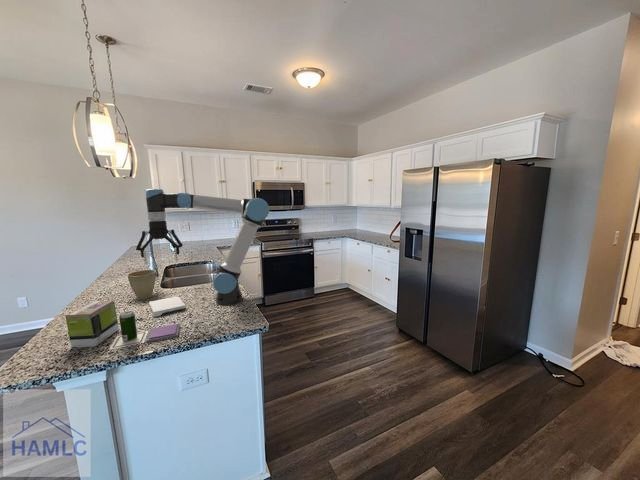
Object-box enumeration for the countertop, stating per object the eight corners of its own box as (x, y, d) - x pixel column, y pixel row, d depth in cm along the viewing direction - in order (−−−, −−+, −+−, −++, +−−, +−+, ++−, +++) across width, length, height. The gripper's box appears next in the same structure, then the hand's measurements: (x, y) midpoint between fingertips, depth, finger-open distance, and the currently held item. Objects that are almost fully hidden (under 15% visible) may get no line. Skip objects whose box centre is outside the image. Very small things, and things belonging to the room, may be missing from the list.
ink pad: (180, 325, 130) (179, 322, 130) (178, 336, 119) (177, 333, 119) (151, 330, 125) (150, 327, 125) (146, 342, 114) (146, 339, 114)
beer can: (132, 342, 114) (129, 315, 113) (119, 343, 114) (115, 316, 112) (140, 336, 120) (137, 310, 118) (127, 336, 120) (124, 310, 118)
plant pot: (128, 297, 170) (125, 272, 167) (155, 291, 179) (153, 268, 177) (132, 303, 158) (128, 277, 156) (160, 297, 168) (158, 272, 166)
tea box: (97, 330, 126) (92, 300, 124) (119, 329, 126) (115, 299, 124) (69, 348, 111) (64, 314, 109) (95, 347, 112) (90, 313, 109)
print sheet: (148, 331, 125) (148, 330, 125) (143, 343, 114) (143, 342, 114) (117, 336, 120) (117, 336, 120) (108, 350, 109) (108, 349, 109)
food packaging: (149, 307, 155) (153, 318, 139) (149, 301, 155) (153, 312, 139) (178, 301, 164) (185, 311, 148) (178, 296, 164) (185, 305, 148)
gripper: (125, 222, 126) (130, 266, 129) (184, 219, 136) (188, 261, 139) (129, 221, 133) (134, 263, 136) (185, 219, 143) (189, 258, 146)
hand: (161, 262), depth 137 cm, fingers open, 13 cm apart
